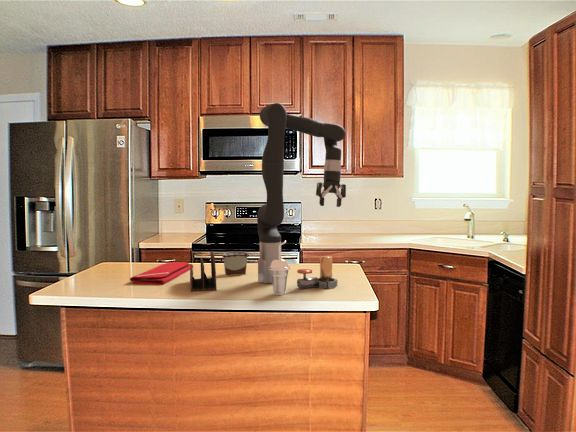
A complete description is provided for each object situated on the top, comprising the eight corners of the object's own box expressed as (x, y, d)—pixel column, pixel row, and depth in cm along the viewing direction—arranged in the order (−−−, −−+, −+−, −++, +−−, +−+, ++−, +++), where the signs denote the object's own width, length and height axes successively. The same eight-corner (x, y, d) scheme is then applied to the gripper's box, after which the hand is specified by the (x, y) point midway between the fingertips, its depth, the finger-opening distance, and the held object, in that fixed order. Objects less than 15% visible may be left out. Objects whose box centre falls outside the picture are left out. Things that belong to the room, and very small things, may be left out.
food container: (245, 271, 237) (245, 250, 236) (248, 274, 231) (248, 252, 230) (219, 273, 233) (219, 252, 232) (222, 275, 227) (222, 254, 226)
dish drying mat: (194, 268, 249) (194, 260, 249) (164, 286, 208) (164, 277, 208) (163, 267, 251) (163, 260, 250) (128, 285, 210) (128, 276, 210)
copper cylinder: (323, 287, 203) (324, 258, 202) (317, 285, 208) (317, 256, 207) (334, 286, 206) (334, 257, 205) (328, 283, 210) (328, 255, 209)
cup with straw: (264, 293, 194) (263, 241, 192) (283, 290, 199) (283, 240, 197) (276, 297, 187) (276, 244, 185) (295, 294, 192) (295, 242, 190)
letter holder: (213, 280, 217) (212, 248, 216) (216, 291, 198) (216, 255, 197) (189, 281, 215) (189, 249, 214) (191, 292, 196) (190, 256, 194)
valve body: (303, 291, 197) (303, 272, 196) (292, 286, 205) (293, 269, 204) (340, 286, 204) (341, 269, 204) (329, 282, 213) (329, 265, 212)
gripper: (322, 169, 219) (320, 206, 219) (350, 171, 225) (348, 207, 225) (314, 169, 225) (312, 205, 226) (341, 172, 232) (339, 206, 232)
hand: (330, 206), depth 225 cm, fingers open, 8 cm apart
